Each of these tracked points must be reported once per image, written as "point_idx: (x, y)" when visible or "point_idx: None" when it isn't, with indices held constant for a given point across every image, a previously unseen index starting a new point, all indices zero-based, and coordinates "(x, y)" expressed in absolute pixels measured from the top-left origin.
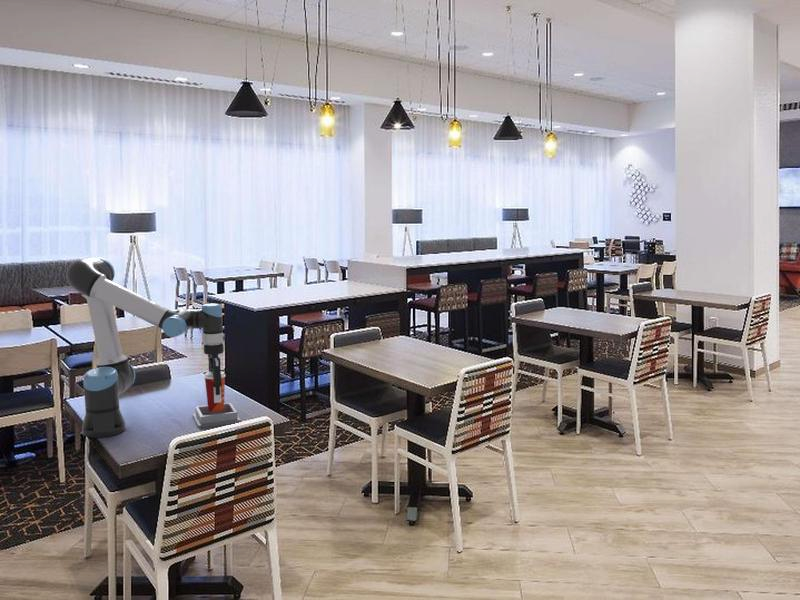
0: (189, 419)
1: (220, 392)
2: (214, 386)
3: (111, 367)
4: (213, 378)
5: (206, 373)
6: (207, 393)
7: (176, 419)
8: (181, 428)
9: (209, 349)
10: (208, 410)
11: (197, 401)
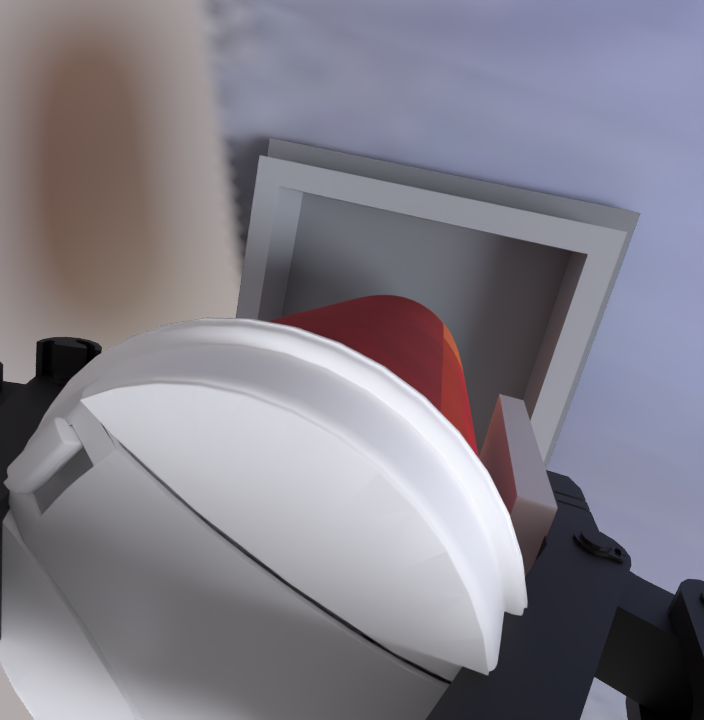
0: (552, 150)
1: None
2: (55, 368)
3: None
4: (17, 445)
5: (291, 457)
6: (330, 307)
7: (647, 31)
8: (351, 3)
9: None
10: (545, 345)
11: None
